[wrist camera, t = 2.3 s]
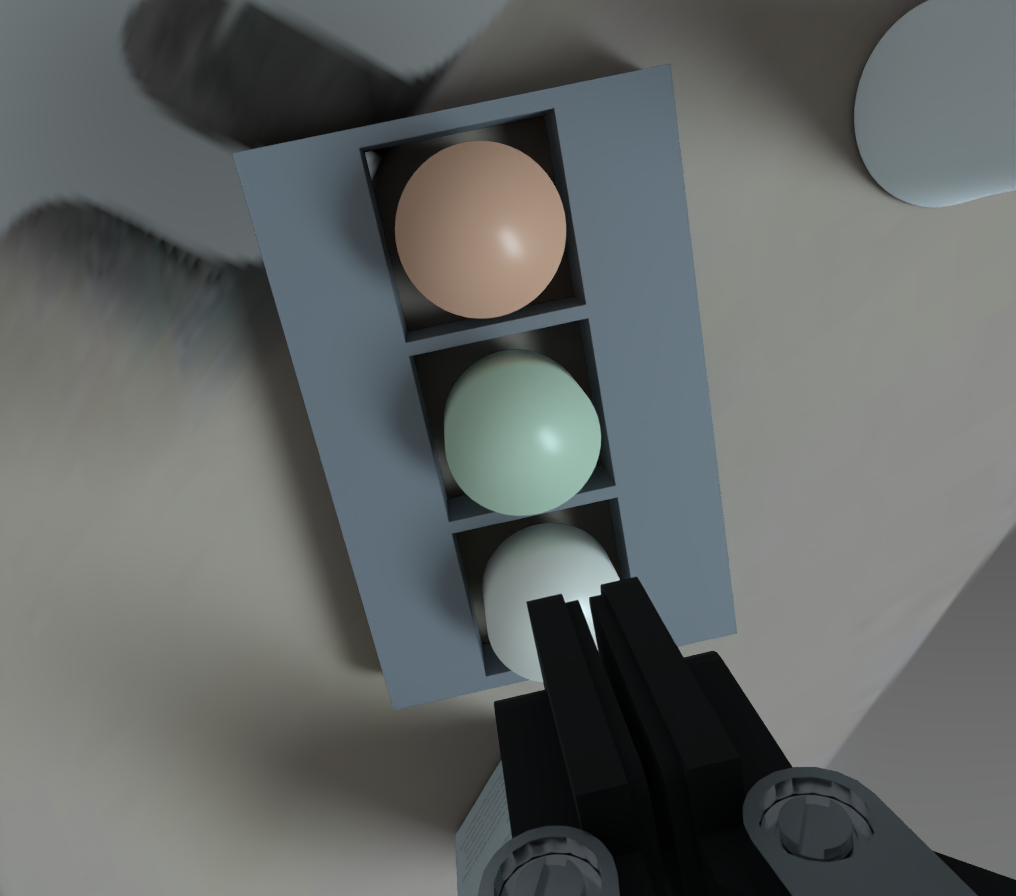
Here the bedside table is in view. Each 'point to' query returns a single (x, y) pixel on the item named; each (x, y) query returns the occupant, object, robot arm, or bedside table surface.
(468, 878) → the skincare box
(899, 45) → the cosmetic bottle
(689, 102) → the bedside table surface
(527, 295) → the terracotta button
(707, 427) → the button board
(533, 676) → the ivory button
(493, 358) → the sage button
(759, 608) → the bedside table surface
